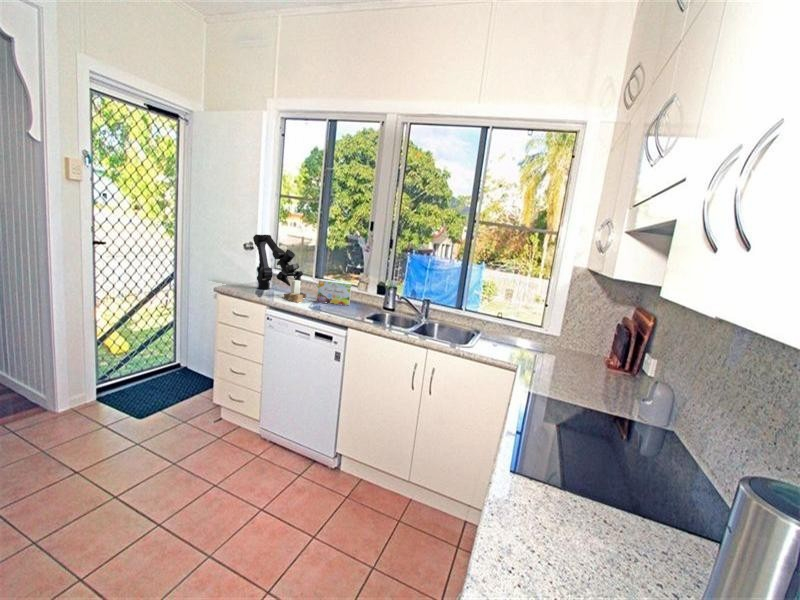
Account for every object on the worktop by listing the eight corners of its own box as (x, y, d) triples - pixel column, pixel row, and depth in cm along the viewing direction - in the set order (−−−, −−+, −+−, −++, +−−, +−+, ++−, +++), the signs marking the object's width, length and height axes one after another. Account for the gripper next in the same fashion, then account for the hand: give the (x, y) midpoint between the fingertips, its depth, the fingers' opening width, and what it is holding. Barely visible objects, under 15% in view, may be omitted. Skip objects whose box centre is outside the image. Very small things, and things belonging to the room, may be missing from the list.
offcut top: (289, 297, 243) (289, 293, 243) (294, 296, 247) (294, 293, 247) (297, 299, 240) (298, 295, 240) (302, 299, 244) (303, 295, 243)
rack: (283, 298, 249) (283, 293, 248) (299, 296, 260) (300, 292, 260) (289, 300, 245) (290, 295, 245) (306, 298, 257) (306, 294, 257)
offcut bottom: (288, 301, 244) (288, 297, 244) (294, 300, 248) (295, 296, 248) (296, 303, 240) (297, 299, 239) (303, 303, 244) (303, 299, 244)
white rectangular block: (290, 298, 252) (291, 280, 249) (296, 297, 256) (297, 280, 254) (293, 299, 250) (295, 281, 248) (299, 298, 254) (300, 280, 252)
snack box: (316, 302, 249) (318, 279, 246) (318, 300, 254) (320, 278, 252) (348, 306, 250) (351, 283, 247) (349, 304, 255) (351, 282, 253)
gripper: (280, 259, 244) (290, 278, 240) (302, 259, 259) (312, 277, 255) (271, 269, 249) (281, 288, 245) (293, 269, 265) (303, 287, 261)
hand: (295, 285), depth 252 cm, fingers open, 9 cm apart
